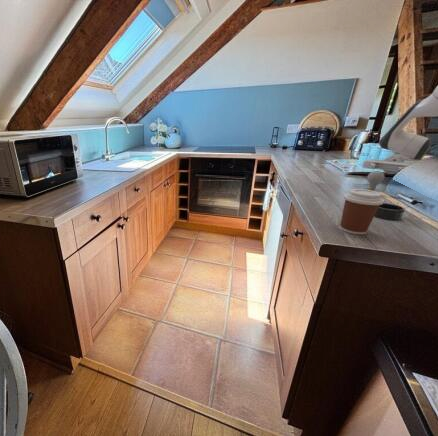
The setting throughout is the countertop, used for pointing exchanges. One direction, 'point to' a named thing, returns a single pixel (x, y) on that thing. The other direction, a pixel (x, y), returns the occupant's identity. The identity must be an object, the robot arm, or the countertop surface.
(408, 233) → the countertop surface
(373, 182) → the light bulb
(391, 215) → the dark round bowl
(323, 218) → the countertop surface
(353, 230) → the coffee cup
